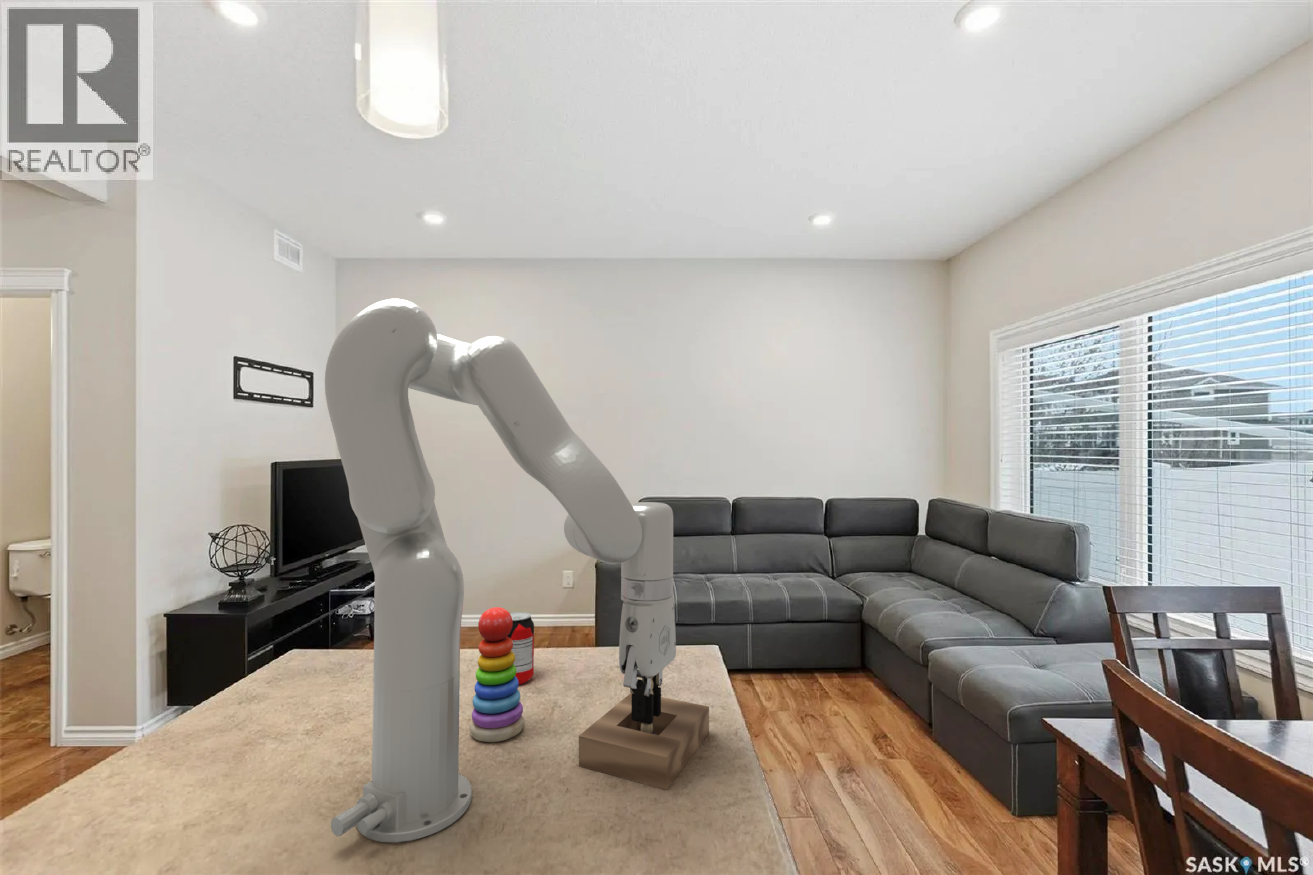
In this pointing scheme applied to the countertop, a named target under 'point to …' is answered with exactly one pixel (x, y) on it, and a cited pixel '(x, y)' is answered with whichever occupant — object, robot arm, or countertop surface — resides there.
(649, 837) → the countertop surface
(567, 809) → the countertop surface
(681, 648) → the countertop surface
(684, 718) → the brown flat frame block
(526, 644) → the beverage can
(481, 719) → the stacking toy
